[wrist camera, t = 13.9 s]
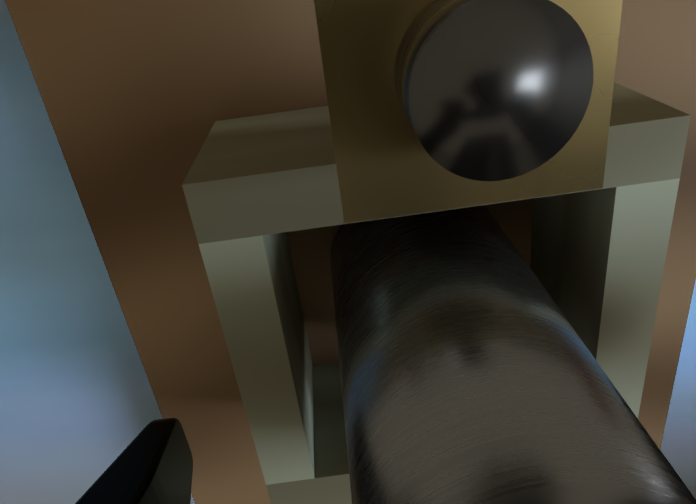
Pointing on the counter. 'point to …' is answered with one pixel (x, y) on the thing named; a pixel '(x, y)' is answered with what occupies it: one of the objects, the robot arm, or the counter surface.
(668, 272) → the dock
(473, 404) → the cylinder
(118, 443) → the counter surface
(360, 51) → the lock bolt
